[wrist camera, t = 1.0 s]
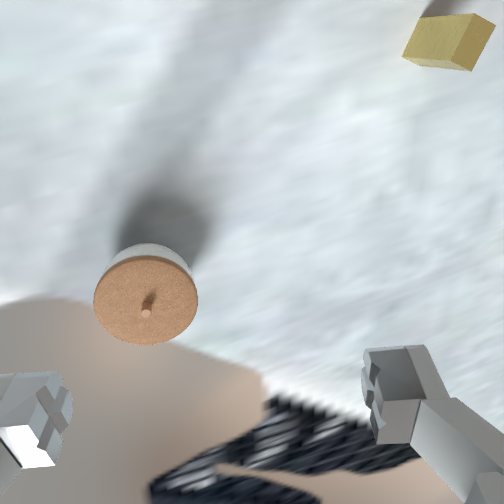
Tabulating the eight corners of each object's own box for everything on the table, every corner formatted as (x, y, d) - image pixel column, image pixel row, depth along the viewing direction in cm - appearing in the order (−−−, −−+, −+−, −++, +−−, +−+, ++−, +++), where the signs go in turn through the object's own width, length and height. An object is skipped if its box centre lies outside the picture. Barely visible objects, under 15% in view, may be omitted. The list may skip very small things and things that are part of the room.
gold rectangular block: (420, 65, 47) (471, 71, 39) (401, 56, 47) (450, 60, 39) (438, 27, 46) (495, 25, 38) (419, 17, 45) (474, 13, 37)
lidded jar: (95, 232, 49) (81, 272, 41) (190, 225, 51) (195, 262, 42) (110, 311, 54) (100, 361, 46) (196, 302, 55) (202, 349, 47)
